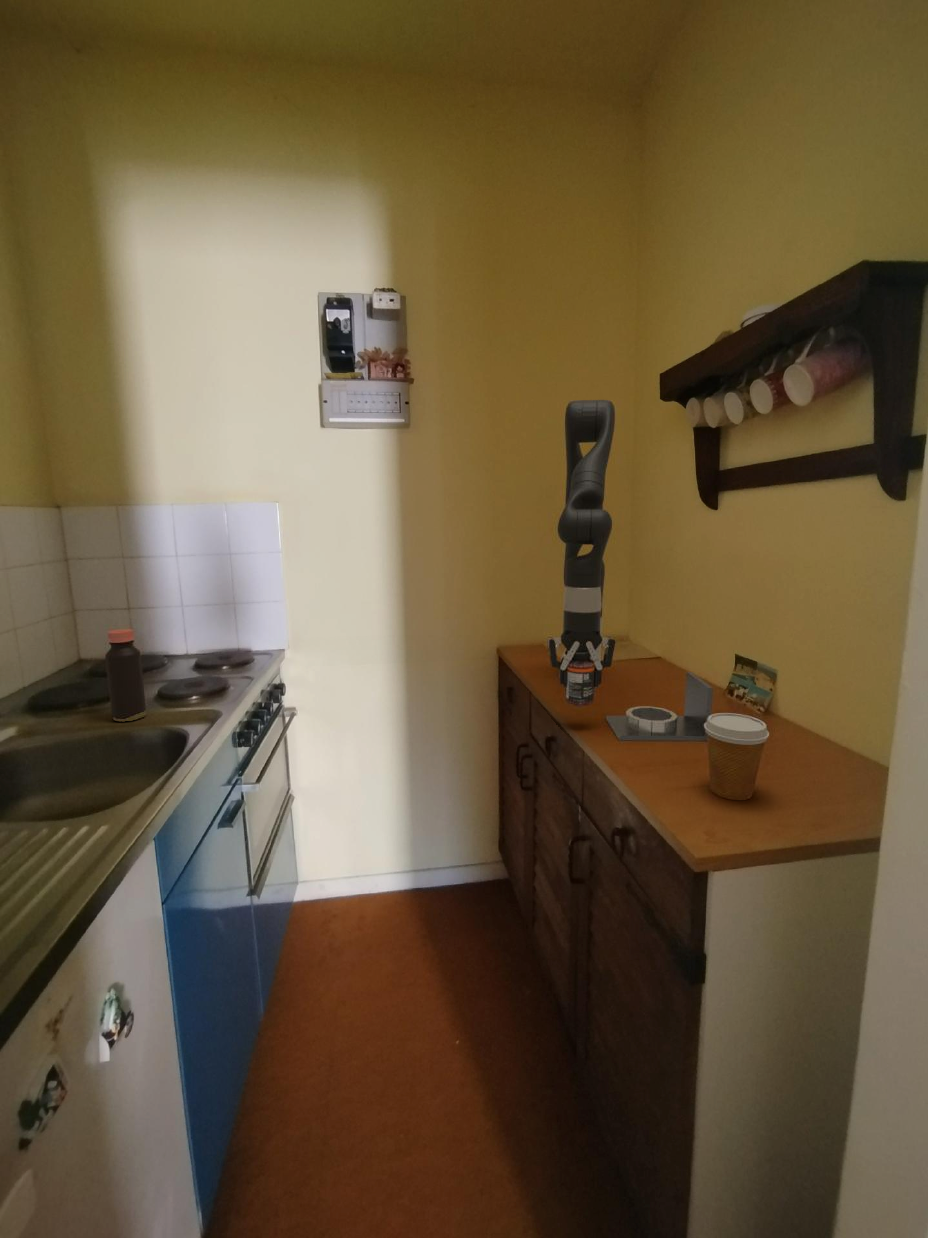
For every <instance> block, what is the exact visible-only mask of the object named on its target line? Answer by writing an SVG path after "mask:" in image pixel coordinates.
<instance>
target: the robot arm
mask: <svg viewBox="0 0 928 1238" xmlns="http://www.w3.org/2000/svg"><path fill="white" fill-rule="evenodd" d="M564 415H565V416H564V435H565V457H566V459H565V460H566V461H565V462H566V482H565V483H566V484H565V501H564V502H565V505H564V508H563V511H562V513H561V514H560V517H559V519H558V523H557V534H558V536H559V537H558V538H559V539H560V540H561V542H562V543H563V544H565V548H564V549H565V551H564V562H563V584H564V588H565V589H564V594H563V595H564V596H563V621H562V622H563V623H562V626H563V627H562V634H561V635H560V637H552V636H550V637H548V638H547V646H548V653H549V655H548V656H549V661H550V664H551V666H552V667H553V668H555V669H556V668H557V669H558V672H559V673H558V681H559V684H560V685H561V686H562V688H566V687H567V670H566V667H567V665H568V664H569V662H570V661H571V659H572V657H573V655H574V654H575V652H589V653H590V656H591V657H590V659H591V660H592V661H593V662H594V664H595V675H594V688H599V685H601V684H602V671H603V669H605V668H610V667H611V666H612V663H613V658H614V652H615V646H616V640H615V639H614V638H613V637H611V636H608V637H603V636H602V632H603V631H602V630H603V629H602V628H603V627H602V625H603V600H604V599H603V597H604V585H605V575H606V567H605V562H604V559H603V558H604V555H605V551H606V547H607V545H608V542H609V539H610V536H611V532H612V528H613V520H612V517H611V515H610V513H609V511H607V510H605V509H604V508H603V507H604V501H605V489H606V488H605V485H606V484H605V483H606V475H607V474H606V473H607V467H608V462H609V459H610V454H611V450H612V444H613V443H612V442H613V440H614V438H613V437H614V432H615V423H616V409H615V405H614V403H613V402H612V400H607V399H589V400H588V399H587V400H586V399H583V400H572V401H569V402H568V404H567V406H566V408H565V413H564ZM581 443H583V444H584V443H595V444H594V445H593V447H592V448H590V450H589V451H588V452H587V453H586V454H585V455H584V456H583V452H582V450H581V445H580V444H581ZM583 545H590V546H591V545H592V549H591V550H590V551H589V552H588V553H585V554H582V555H579V552H580V551H581V549H582V546H583ZM560 644H562V645H563V646H564V648H565V650H564V652H563V654H562V656H561V659H560V660H558V658H557V657H558V656H557V649H558V648H560V647H559V646H560ZM602 645H603V647H604V653H603V657H601V655H602ZM601 658H603V659H602V660H601Z"/></svg>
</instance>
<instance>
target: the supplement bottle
mask: <svg viewBox="0 0 928 1238" xmlns="http://www.w3.org/2000/svg"><path fill="white" fill-rule="evenodd" d="M590 657H591V656H590V653H589V652H575V654H574V655H573V657H572V659H571V661H570V662H569V664H568V665H567V667H566V670H567V687H565V690H564V691H565V701H566V703H567V704H569V705H571V706H576V707H584V706H591V704H593V703H594V701H595V699H594V698H595V687H594V675H595V664H594V662H593V661H592V660H591V659H590Z"/></svg>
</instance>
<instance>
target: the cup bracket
mask: <svg viewBox="0 0 928 1238" xmlns="http://www.w3.org/2000/svg"><path fill="white" fill-rule="evenodd" d="M685 679H686V680H685V681H686V682H685V695H684V696H685V697H684V709H683V710H684V711H683V715H677V714H676V713H675V712H674V711H671V710H669V709H667V708H663V707H656V706H650V705H649V706H647V705H646V706H644V705H643V706H634V707H630V708H628V709H627V710H626V711H625V715H606V717H605V718H606V719H605V720H606V722H607V723H608V725H609V727H610V728H611V729H612V732H614V734H615V736H616V738H617V740H618V741H643V742H644V741H648V742H649V741H658V742H659V741H661V742H662V741H663V742H665V741H672V742H673V741H676V742H679V741H680V742H685V741H686V742H690V741H691V742H707V733H706V731H705V728H704V724H705V723H706V722H707V719H708V717H709V716H710V715H712V712H713V711H712V710H713V699H714V698H713V697H714V687H713V686H712V685H710V684H708V682H705V680H703V679H702V678H700V677H699V676H697V675H696V674H695V673H694V672H691V671H687V672H686V678H685Z"/></svg>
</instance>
